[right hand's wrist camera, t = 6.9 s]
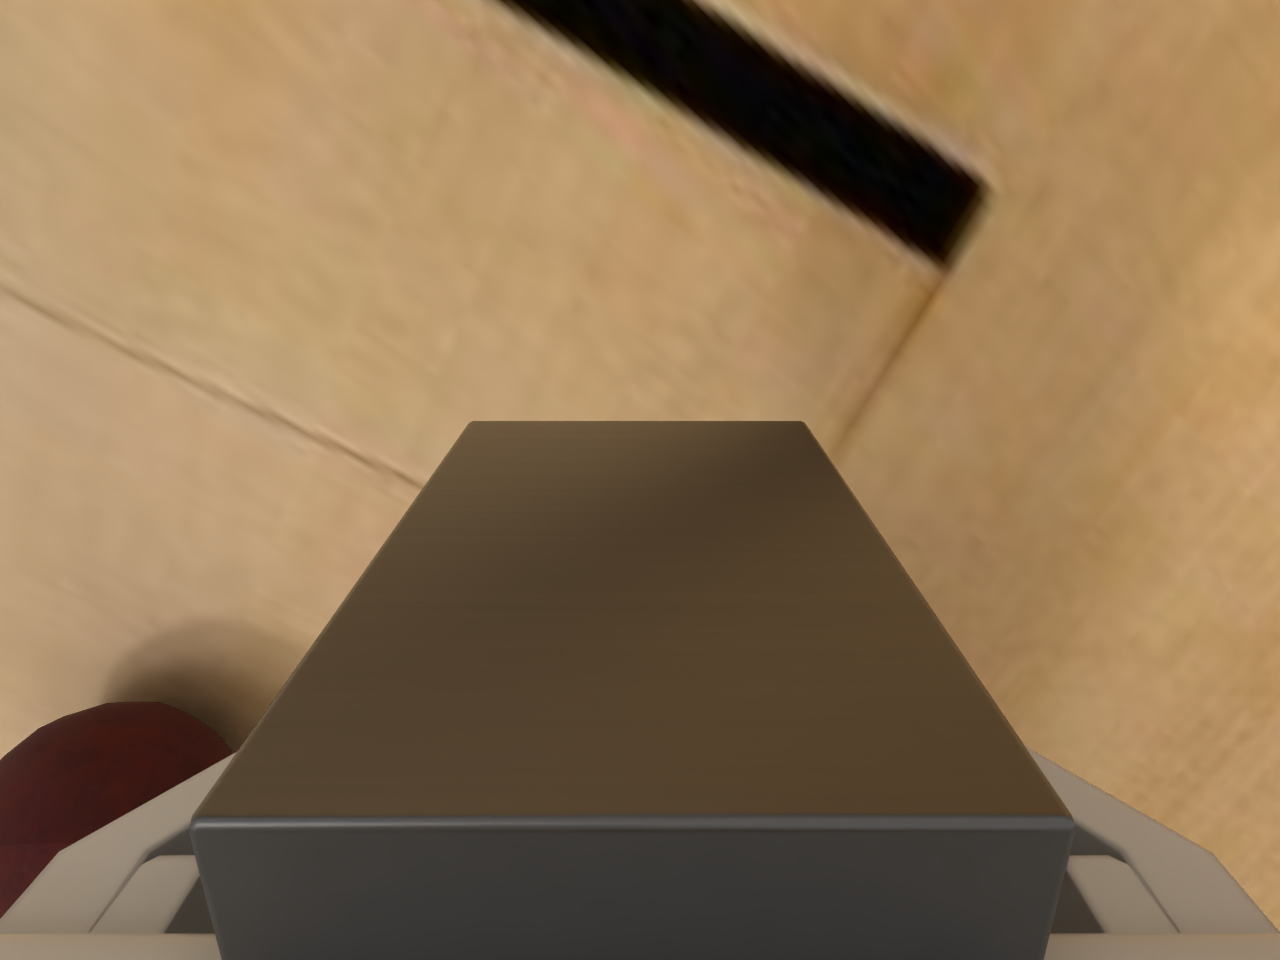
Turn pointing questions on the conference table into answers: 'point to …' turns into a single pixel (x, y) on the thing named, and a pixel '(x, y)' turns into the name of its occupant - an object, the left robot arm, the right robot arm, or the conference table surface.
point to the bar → (633, 729)
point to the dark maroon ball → (91, 779)
